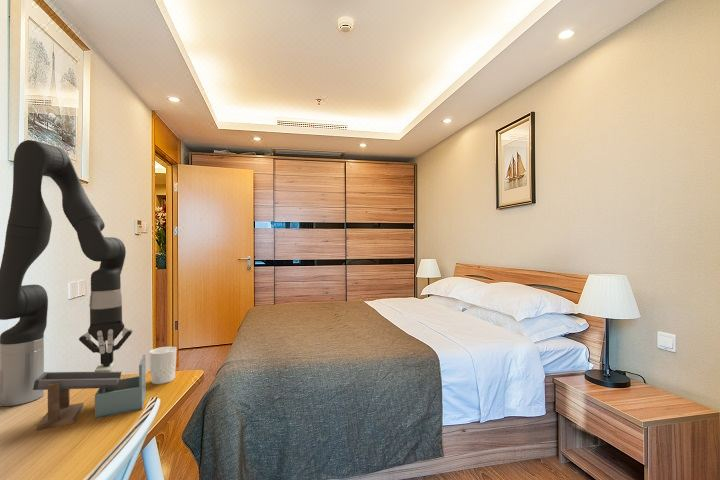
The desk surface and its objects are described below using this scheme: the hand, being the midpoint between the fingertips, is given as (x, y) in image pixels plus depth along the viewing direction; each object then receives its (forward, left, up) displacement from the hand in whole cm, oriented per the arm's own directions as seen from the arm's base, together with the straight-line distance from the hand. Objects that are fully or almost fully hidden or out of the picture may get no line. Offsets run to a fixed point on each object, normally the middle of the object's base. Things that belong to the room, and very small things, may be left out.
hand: (107, 365), depth 100 cm
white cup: (+14, +9, -10) cm, 19 cm away
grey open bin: (+5, -7, -10) cm, 13 cm away
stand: (-9, -7, -10) cm, 15 cm away
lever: (-5, -4, -2) cm, 6 cm away
